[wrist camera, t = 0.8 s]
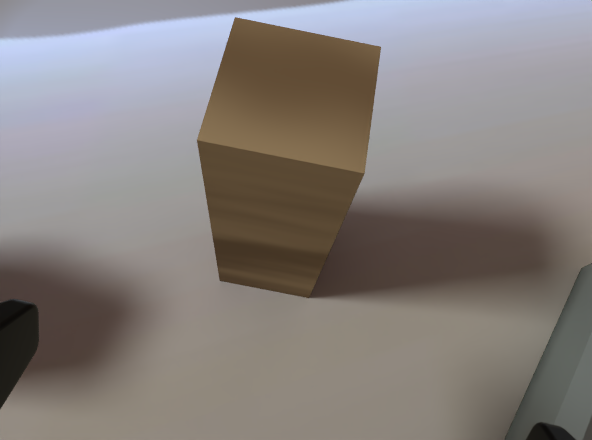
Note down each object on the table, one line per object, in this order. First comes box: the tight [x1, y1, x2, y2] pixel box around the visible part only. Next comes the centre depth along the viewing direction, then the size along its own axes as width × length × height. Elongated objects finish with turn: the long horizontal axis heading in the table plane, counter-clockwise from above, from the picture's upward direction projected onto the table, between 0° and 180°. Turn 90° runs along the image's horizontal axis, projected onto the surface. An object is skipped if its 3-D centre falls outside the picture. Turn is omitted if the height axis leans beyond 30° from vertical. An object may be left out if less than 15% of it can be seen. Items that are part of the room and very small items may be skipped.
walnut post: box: [197, 17, 381, 298], centre depth 20 cm, size 4×4×12 cm
